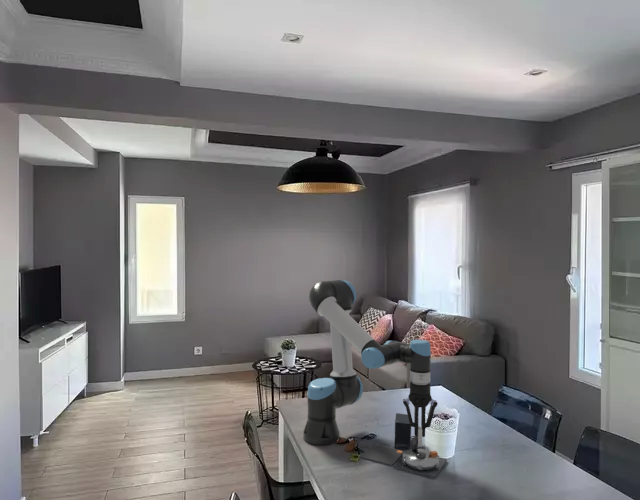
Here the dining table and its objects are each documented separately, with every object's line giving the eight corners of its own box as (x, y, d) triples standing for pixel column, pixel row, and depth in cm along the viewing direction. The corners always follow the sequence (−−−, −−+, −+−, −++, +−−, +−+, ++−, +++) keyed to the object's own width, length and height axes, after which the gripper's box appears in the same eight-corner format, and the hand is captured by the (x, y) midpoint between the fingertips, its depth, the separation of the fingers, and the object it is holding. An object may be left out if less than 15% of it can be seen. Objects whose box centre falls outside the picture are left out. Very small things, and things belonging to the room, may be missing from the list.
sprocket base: (393, 468, 165) (393, 465, 165) (408, 452, 178) (408, 449, 178) (435, 479, 157) (435, 476, 157) (446, 461, 170) (446, 459, 170)
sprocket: (410, 472, 160) (411, 452, 160) (395, 455, 172) (395, 437, 172) (447, 467, 163) (447, 448, 163) (429, 451, 176) (429, 433, 176)
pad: (359, 457, 173) (359, 456, 173) (373, 445, 184) (373, 443, 184) (392, 466, 166) (392, 464, 166) (404, 452, 178) (404, 450, 178)
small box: (410, 450, 180) (411, 423, 180) (394, 448, 181) (394, 422, 181) (411, 439, 190) (411, 414, 190) (395, 437, 192) (395, 412, 192)
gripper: (403, 384, 169) (402, 448, 169) (439, 385, 168) (439, 450, 168) (401, 378, 177) (401, 440, 177) (436, 379, 175) (435, 441, 176)
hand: (419, 444), depth 172 cm, fingers closed
